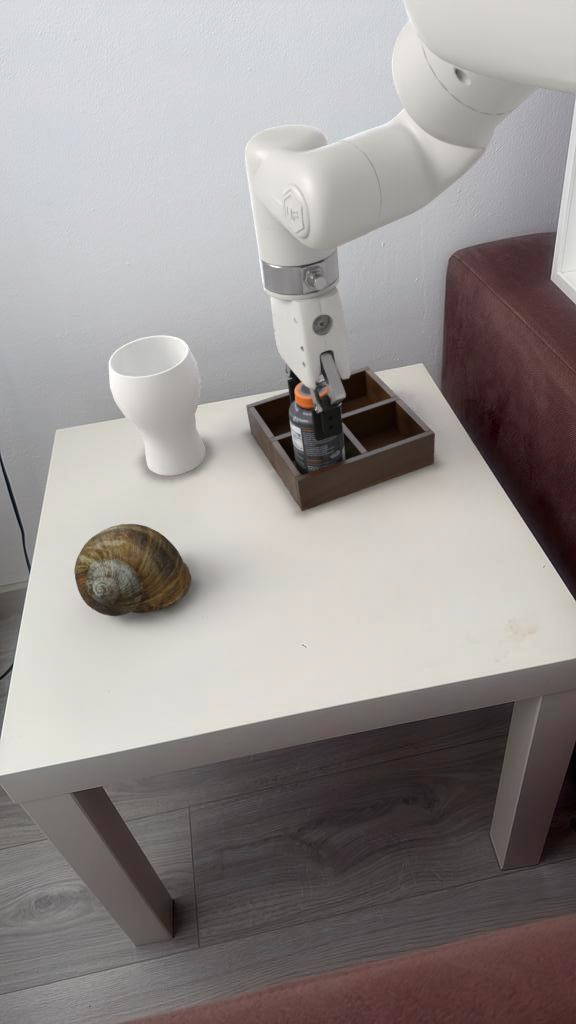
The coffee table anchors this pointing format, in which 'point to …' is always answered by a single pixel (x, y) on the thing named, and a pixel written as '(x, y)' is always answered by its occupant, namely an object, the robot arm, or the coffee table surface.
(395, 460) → the compartment tray
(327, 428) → the robot arm
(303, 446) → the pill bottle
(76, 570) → the seashell
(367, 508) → the coffee table surface
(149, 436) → the cup
